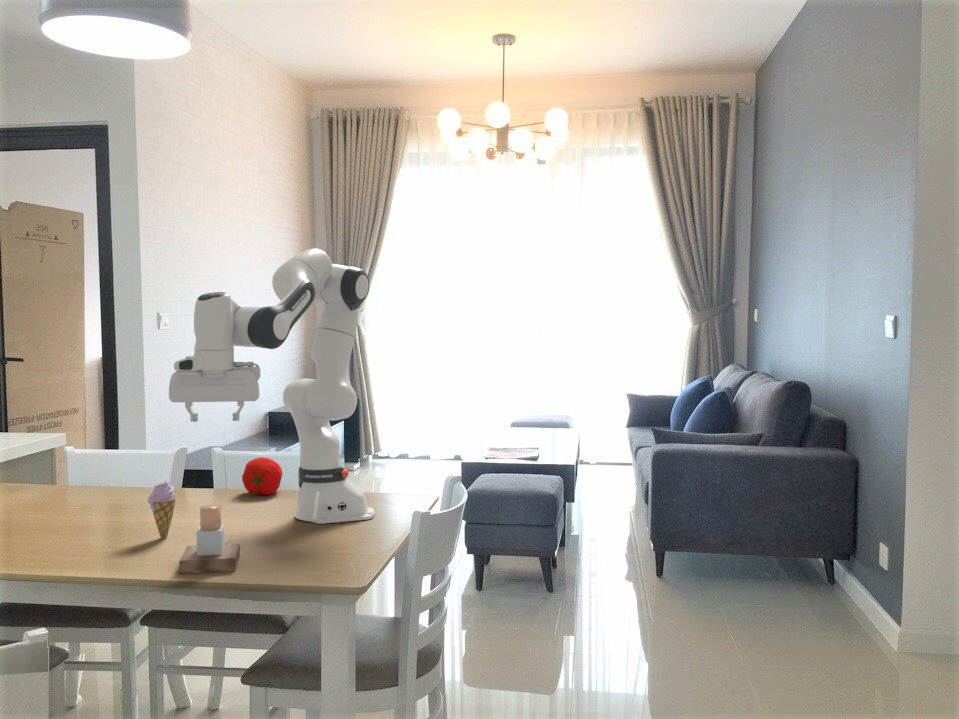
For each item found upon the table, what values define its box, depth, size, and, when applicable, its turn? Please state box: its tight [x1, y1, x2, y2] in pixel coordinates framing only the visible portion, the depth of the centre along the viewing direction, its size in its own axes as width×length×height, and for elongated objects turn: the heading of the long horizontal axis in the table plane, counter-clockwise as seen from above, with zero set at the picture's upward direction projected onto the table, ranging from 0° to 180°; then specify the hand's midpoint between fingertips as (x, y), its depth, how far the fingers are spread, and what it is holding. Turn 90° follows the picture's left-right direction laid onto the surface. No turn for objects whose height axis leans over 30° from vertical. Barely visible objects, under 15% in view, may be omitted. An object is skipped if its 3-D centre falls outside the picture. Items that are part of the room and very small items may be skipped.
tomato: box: [241, 456, 283, 496], centre depth 272 cm, size 13×13×13 cm
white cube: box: [196, 524, 225, 556], centre depth 198 cm, size 6×6×6 cm
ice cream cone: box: [147, 480, 176, 540], centre depth 220 cm, size 7×6×15 cm
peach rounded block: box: [199, 504, 222, 531], centre depth 198 cm, size 5×5×5 cm
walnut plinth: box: [179, 543, 241, 575], centre depth 199 cm, size 12×12×3 cm
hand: (215, 420), depth 201 cm, fingers open, 8 cm apart
